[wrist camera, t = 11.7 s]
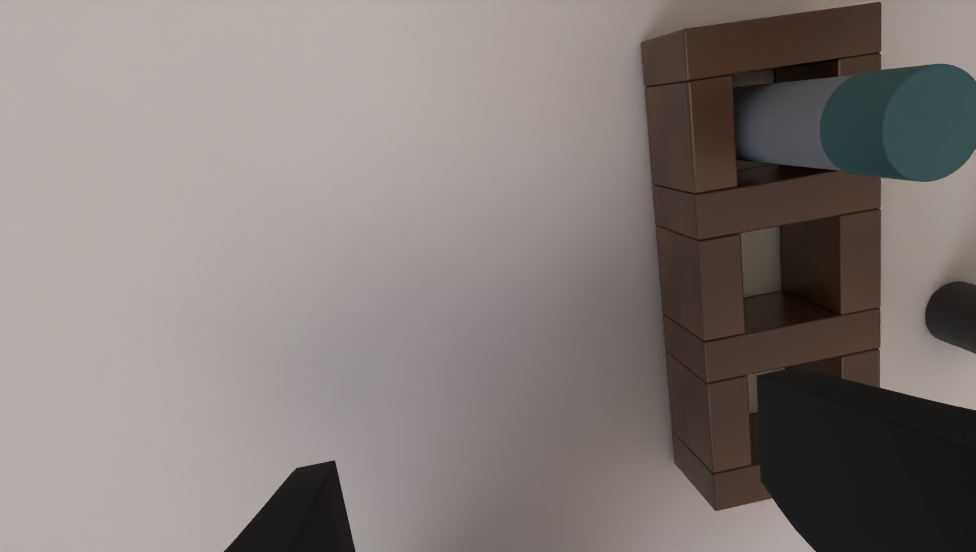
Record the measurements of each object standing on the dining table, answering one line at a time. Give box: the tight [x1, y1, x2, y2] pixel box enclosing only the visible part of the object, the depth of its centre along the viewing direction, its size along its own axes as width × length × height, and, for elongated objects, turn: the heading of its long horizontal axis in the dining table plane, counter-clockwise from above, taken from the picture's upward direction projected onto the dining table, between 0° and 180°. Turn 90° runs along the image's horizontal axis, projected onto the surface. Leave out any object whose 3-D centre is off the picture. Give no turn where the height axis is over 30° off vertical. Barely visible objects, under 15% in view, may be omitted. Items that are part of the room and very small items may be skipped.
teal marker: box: [733, 64, 976, 182], centre depth 17 cm, size 2×2×8 cm
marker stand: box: [641, 2, 881, 511], centre depth 21 cm, size 14×6×3 cm, turn 8°
